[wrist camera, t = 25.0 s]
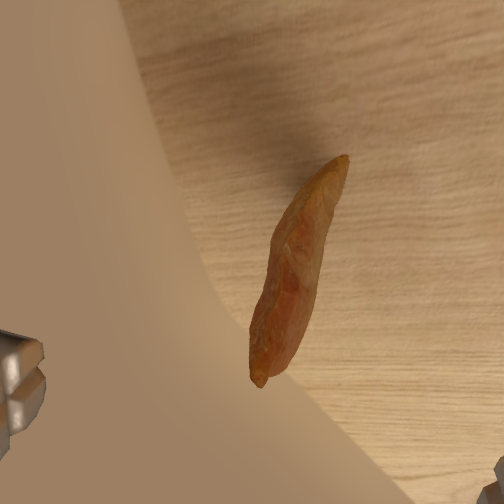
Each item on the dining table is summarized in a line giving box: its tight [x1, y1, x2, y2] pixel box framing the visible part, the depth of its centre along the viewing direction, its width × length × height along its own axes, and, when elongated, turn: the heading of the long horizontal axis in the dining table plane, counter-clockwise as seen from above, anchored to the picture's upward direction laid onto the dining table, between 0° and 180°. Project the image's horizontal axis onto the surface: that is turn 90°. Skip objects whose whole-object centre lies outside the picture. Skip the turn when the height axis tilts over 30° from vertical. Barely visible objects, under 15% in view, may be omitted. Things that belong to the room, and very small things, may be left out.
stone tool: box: [249, 154, 350, 388], centre depth 16 cm, size 5×2×15 cm, turn 171°
